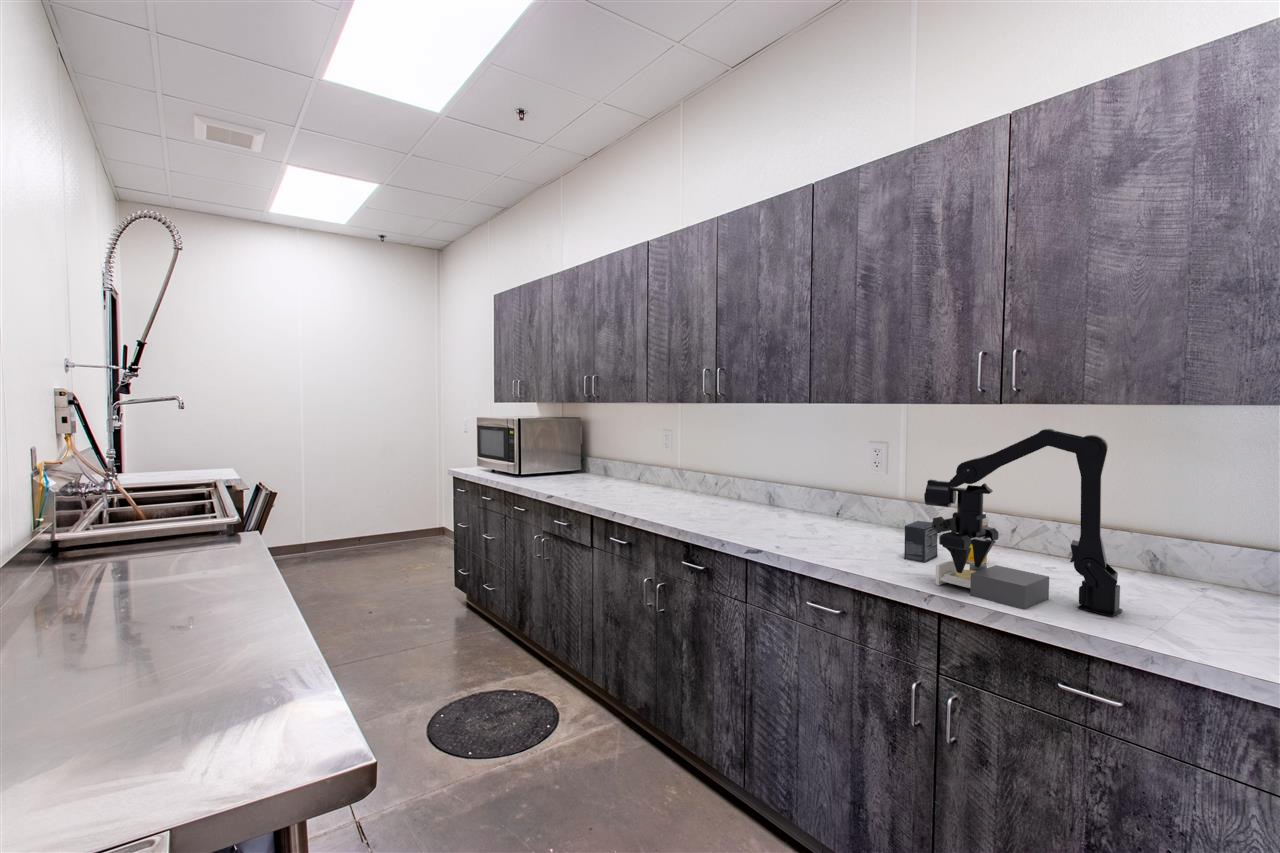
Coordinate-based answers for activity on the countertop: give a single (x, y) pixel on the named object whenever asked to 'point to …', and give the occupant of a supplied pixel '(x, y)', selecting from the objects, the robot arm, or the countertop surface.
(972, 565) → the puck
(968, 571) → the disc
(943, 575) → the tray
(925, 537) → the small box
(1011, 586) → the block
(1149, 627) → the countertop surface
